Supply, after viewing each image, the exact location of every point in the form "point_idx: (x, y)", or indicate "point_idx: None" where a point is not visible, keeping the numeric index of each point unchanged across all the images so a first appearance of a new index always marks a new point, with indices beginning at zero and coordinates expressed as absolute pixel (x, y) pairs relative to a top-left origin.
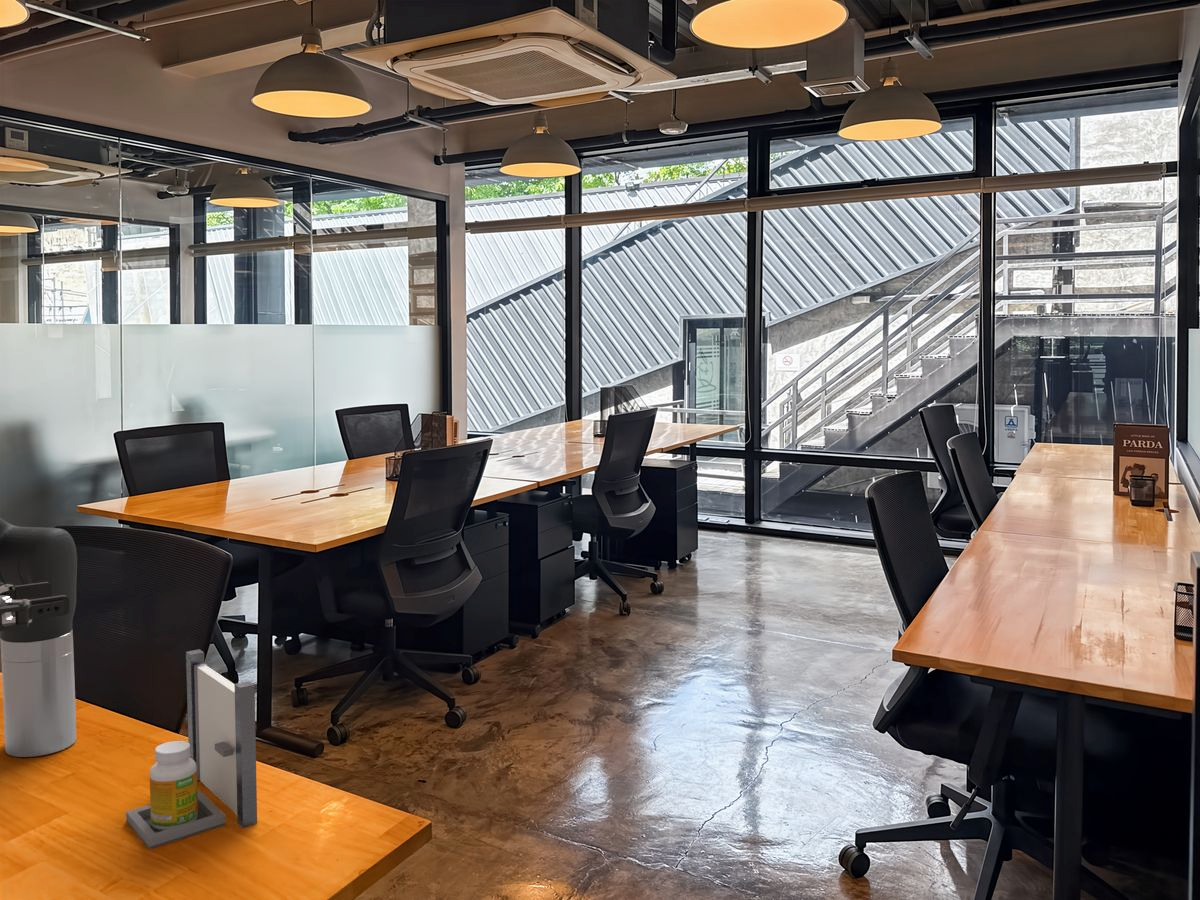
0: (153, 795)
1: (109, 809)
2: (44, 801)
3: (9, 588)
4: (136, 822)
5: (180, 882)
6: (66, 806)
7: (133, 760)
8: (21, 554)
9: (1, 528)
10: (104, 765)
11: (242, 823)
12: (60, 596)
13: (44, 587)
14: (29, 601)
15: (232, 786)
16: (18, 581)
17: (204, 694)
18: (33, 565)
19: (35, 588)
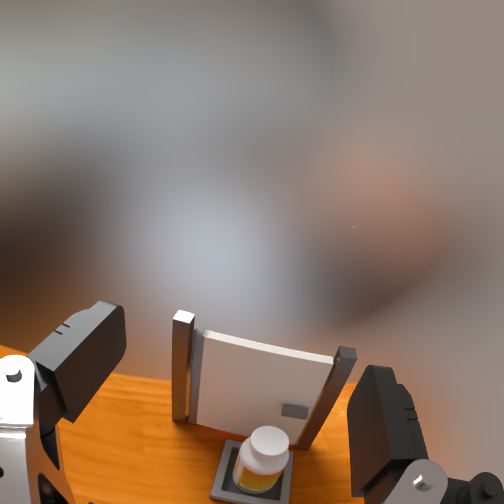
0: (263, 481)
1: (166, 490)
2: (88, 498)
3: (36, 387)
4: (243, 501)
5: None
6: (119, 500)
7: (90, 412)
8: None
9: None
10: (73, 426)
11: (307, 448)
12: (389, 377)
13: (114, 325)
14: (438, 465)
15: (286, 430)
16: None
17: (224, 364)
18: None
19: (97, 341)
